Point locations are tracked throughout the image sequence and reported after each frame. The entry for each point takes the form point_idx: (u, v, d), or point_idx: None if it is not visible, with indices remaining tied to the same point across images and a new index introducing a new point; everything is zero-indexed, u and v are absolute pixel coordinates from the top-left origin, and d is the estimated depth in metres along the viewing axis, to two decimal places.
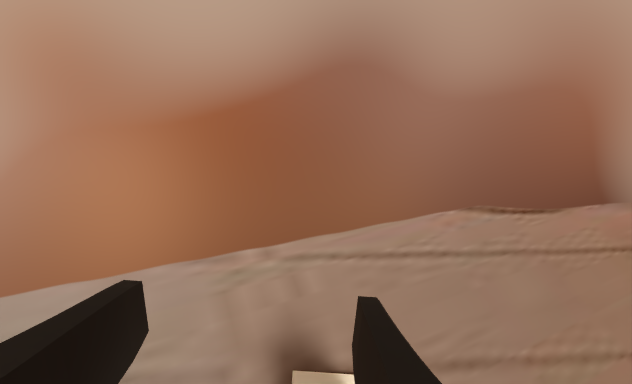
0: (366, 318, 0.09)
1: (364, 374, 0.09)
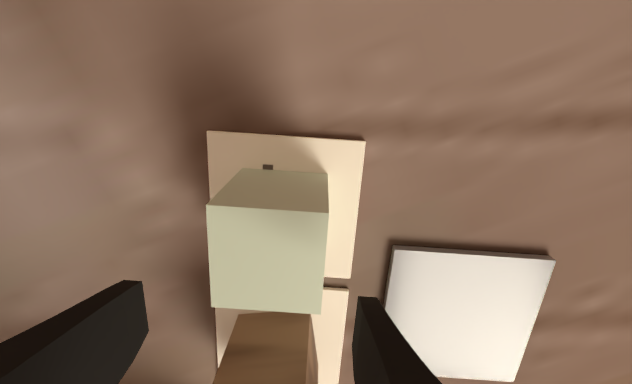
0: (366, 318, 0.09)
1: (364, 374, 0.09)
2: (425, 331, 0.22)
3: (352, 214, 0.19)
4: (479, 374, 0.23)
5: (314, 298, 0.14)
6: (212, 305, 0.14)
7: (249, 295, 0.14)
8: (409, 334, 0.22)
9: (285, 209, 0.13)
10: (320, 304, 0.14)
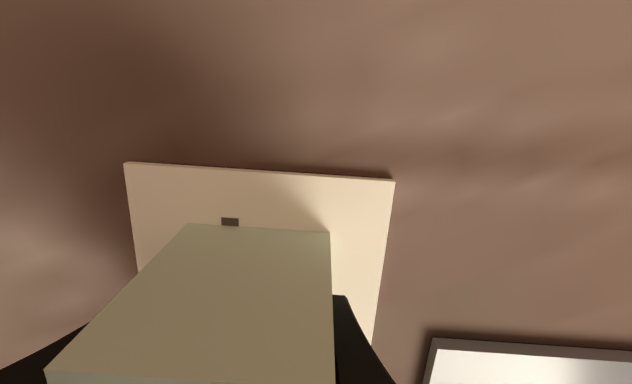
0: None
1: None
2: None
3: (370, 295, 0.12)
4: None
5: None
6: None
7: None
8: None
9: (232, 375, 0.06)
10: None
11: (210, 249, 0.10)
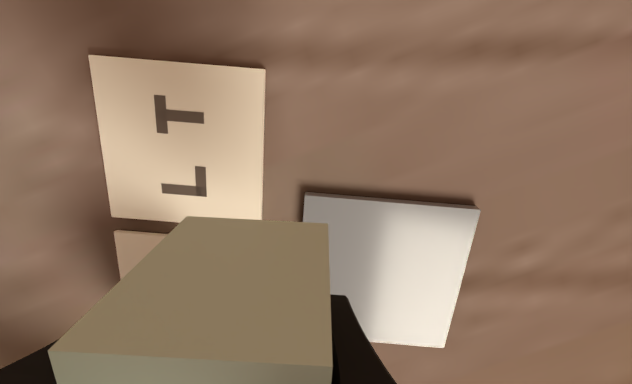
0: None
1: None
2: (345, 289, 0.20)
3: (257, 154, 0.18)
4: (406, 339, 0.21)
5: None
6: None
7: None
8: None
9: (232, 354, 0.06)
10: None
11: (209, 240, 0.10)
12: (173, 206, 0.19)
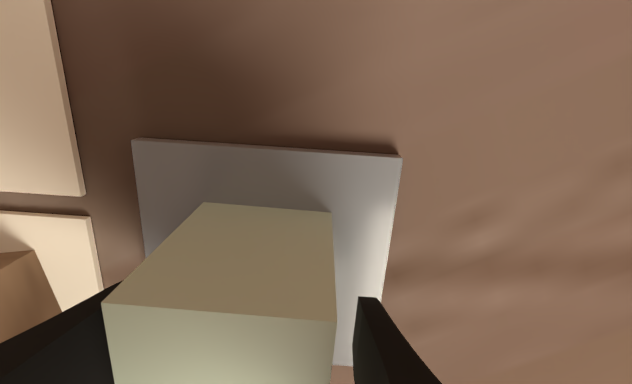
0: (366, 318, 0.09)
1: (364, 374, 0.09)
2: None
3: (49, 76, 0.11)
4: None
5: None
6: None
7: None
8: None
9: (254, 310, 0.07)
10: None
11: (226, 222, 0.11)
12: None
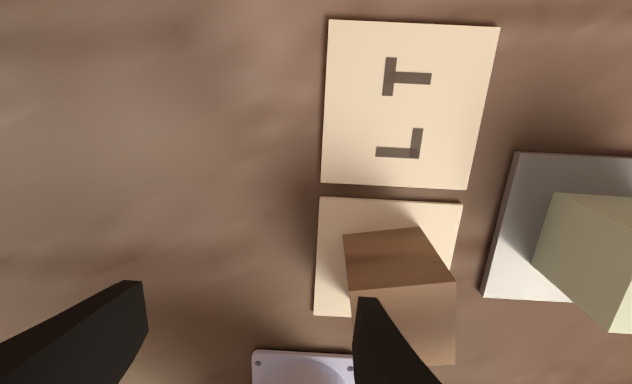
0: (366, 318, 0.09)
1: (364, 374, 0.09)
2: None
3: (476, 114, 0.18)
4: None
5: None
6: (610, 330, 0.15)
7: None
8: (525, 252, 0.20)
9: None
10: None
11: (599, 203, 0.18)
12: (384, 169, 0.19)
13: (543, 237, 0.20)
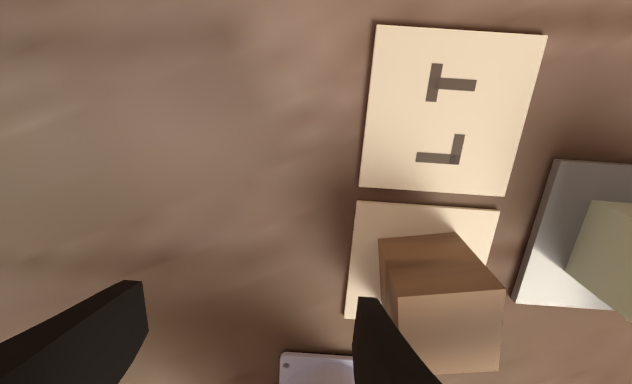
0: (366, 318, 0.09)
1: (364, 374, 0.09)
2: None
3: (519, 121, 0.18)
4: None
5: None
6: None
7: None
8: (559, 259, 0.21)
9: None
10: None
11: None
12: (423, 174, 0.19)
13: (579, 244, 0.20)
